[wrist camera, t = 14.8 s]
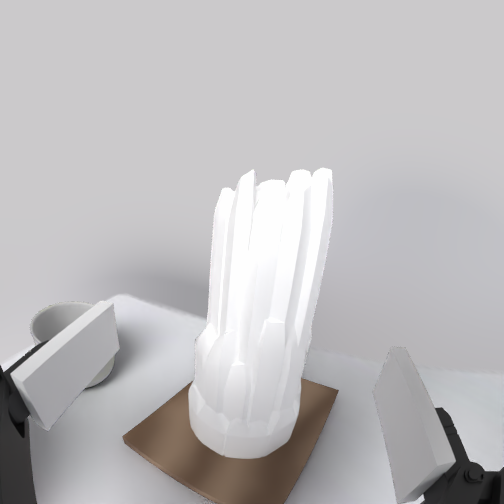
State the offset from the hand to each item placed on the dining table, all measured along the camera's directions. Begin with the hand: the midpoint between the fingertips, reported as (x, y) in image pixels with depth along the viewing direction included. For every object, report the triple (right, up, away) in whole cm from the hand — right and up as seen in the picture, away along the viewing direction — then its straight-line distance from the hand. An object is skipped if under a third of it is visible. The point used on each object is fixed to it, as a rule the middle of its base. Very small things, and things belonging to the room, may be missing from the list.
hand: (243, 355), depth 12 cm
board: (-1, -14, +15) cm, 20 cm away
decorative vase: (-1, -13, +14) cm, 20 cm away
